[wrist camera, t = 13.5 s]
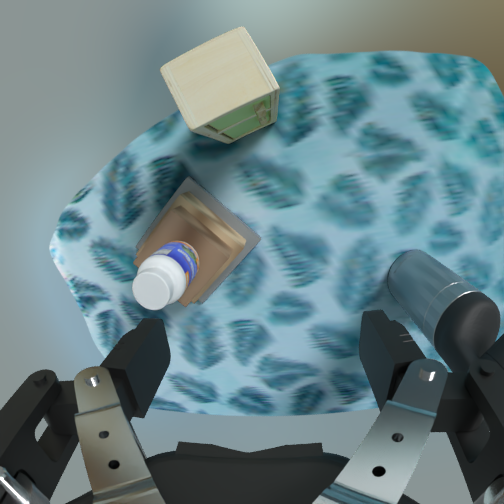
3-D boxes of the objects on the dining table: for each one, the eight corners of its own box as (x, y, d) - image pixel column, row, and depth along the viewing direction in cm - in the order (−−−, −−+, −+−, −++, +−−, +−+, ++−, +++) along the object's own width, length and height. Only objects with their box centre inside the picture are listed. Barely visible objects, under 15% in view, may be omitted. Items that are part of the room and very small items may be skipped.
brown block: (246, 240, 45) (240, 257, 36) (200, 291, 47) (187, 316, 39) (188, 191, 43) (170, 198, 35) (147, 246, 46) (123, 263, 38)
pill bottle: (206, 274, 37) (186, 311, 28) (168, 285, 38) (140, 322, 29) (191, 233, 36) (164, 258, 27) (152, 246, 37) (117, 273, 27)
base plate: (261, 237, 46) (261, 239, 44) (204, 300, 49) (202, 303, 48) (189, 176, 44) (187, 176, 42) (138, 244, 47) (135, 246, 46)
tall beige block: (229, 150, 42) (192, 139, 22) (207, 107, 41) (156, 65, 20) (279, 126, 41) (286, 94, 21) (257, 83, 39) (244, 22, 19)
